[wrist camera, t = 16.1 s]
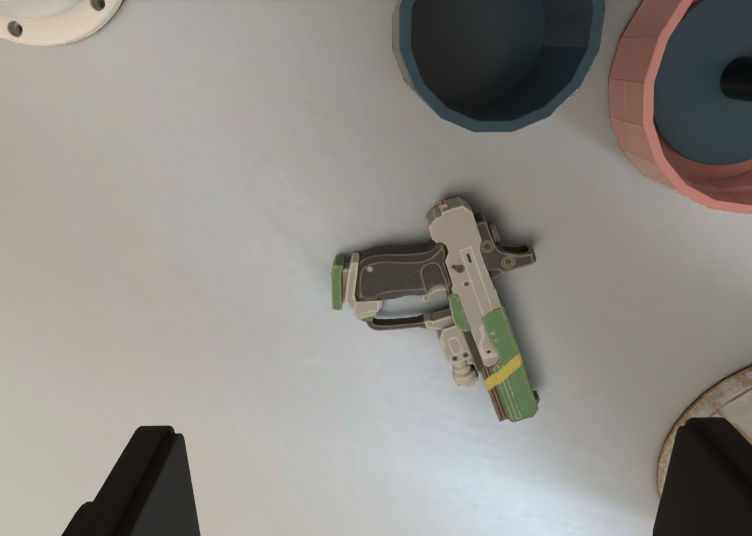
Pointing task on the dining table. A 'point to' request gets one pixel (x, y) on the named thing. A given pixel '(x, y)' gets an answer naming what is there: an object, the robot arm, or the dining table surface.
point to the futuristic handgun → (450, 299)
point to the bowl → (635, 116)
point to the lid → (708, 84)
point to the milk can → (716, 413)
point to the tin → (496, 56)
